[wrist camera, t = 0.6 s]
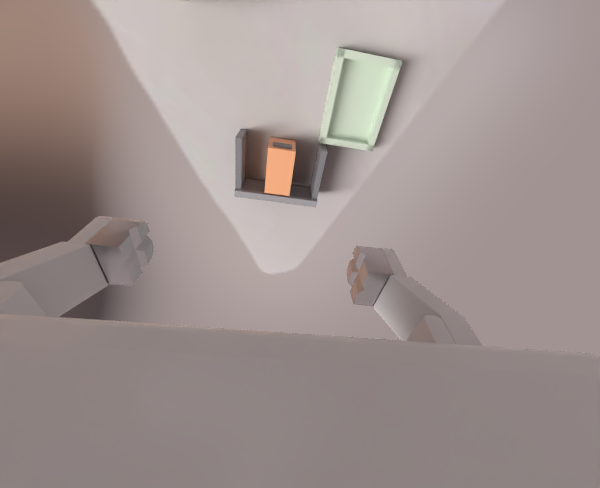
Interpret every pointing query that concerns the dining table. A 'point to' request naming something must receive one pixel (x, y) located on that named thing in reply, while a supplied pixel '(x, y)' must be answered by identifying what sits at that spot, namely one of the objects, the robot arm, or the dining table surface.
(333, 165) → the dining table surface
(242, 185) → the bay
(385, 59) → the tray
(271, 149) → the orange block
